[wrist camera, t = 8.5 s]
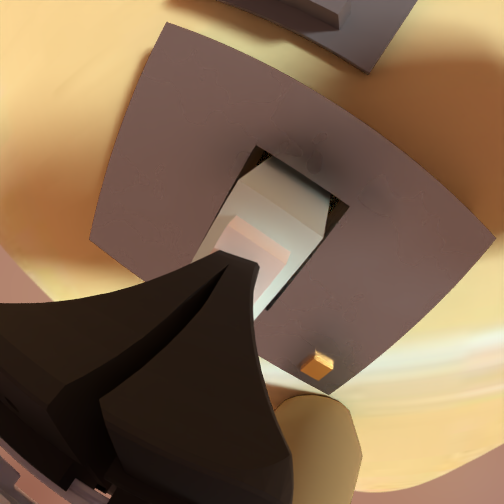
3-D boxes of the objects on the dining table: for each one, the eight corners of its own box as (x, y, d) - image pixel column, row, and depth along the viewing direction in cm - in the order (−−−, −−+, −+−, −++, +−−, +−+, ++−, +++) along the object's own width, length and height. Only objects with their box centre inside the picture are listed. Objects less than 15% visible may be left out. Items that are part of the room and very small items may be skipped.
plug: (331, 187, 14) (320, 249, 8) (276, 261, 17) (235, 347, 11) (279, 150, 14) (229, 186, 8) (229, 229, 17) (166, 301, 11)
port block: (473, 213, 12) (498, 241, 10) (333, 358, 19) (328, 399, 16) (197, 33, 12) (162, 20, 10) (119, 220, 19) (85, 241, 16)
